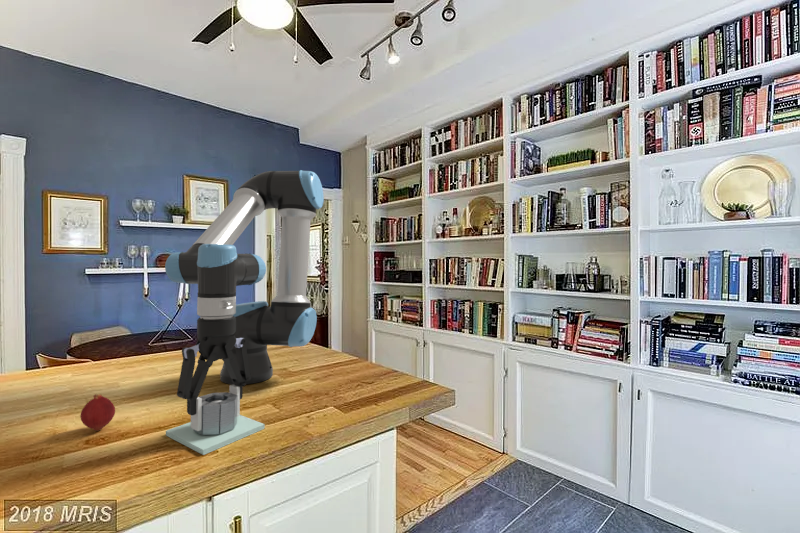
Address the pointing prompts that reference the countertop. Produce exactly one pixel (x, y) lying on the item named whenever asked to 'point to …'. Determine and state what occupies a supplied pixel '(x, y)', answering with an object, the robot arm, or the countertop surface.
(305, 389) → the countertop surface
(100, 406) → the onion
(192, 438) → the post block
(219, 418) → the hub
